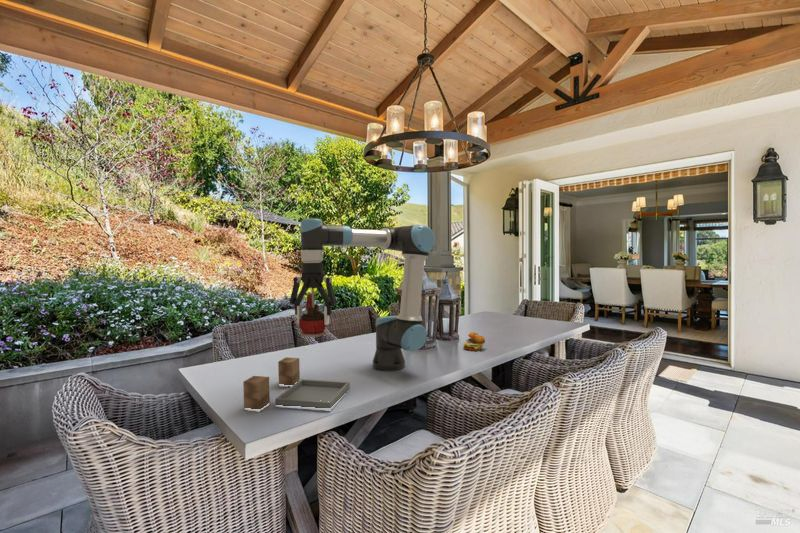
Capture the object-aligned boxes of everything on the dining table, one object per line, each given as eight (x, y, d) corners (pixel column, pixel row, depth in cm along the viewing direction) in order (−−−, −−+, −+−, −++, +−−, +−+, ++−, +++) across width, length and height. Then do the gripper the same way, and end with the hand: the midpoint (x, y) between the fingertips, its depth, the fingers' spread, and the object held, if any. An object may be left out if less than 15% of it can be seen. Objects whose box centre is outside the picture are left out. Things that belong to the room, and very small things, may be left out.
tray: (349, 389, 147) (349, 382, 147) (330, 411, 127) (330, 403, 127) (301, 386, 151) (301, 379, 151) (275, 407, 131) (275, 398, 131)
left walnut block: (269, 405, 133) (269, 376, 133) (260, 412, 127) (259, 382, 127) (254, 403, 134) (253, 375, 134) (244, 410, 128) (243, 381, 128)
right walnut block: (299, 382, 156) (299, 358, 155) (292, 387, 150) (292, 362, 149) (286, 381, 157) (285, 357, 156) (278, 386, 151) (278, 361, 151)
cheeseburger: (462, 346, 211) (466, 328, 210) (481, 351, 210) (485, 333, 209) (462, 350, 201) (467, 332, 200) (482, 356, 200) (487, 337, 199)
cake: (323, 338, 132) (322, 287, 131) (296, 338, 133) (295, 287, 132) (329, 332, 143) (328, 284, 142) (305, 332, 143) (304, 284, 142)
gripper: (345, 261, 138) (346, 322, 139) (288, 261, 142) (289, 320, 144) (338, 262, 131) (339, 326, 132) (278, 262, 135) (279, 324, 136)
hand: (313, 323), depth 138 cm, fingers closed on cake, 10 cm apart
